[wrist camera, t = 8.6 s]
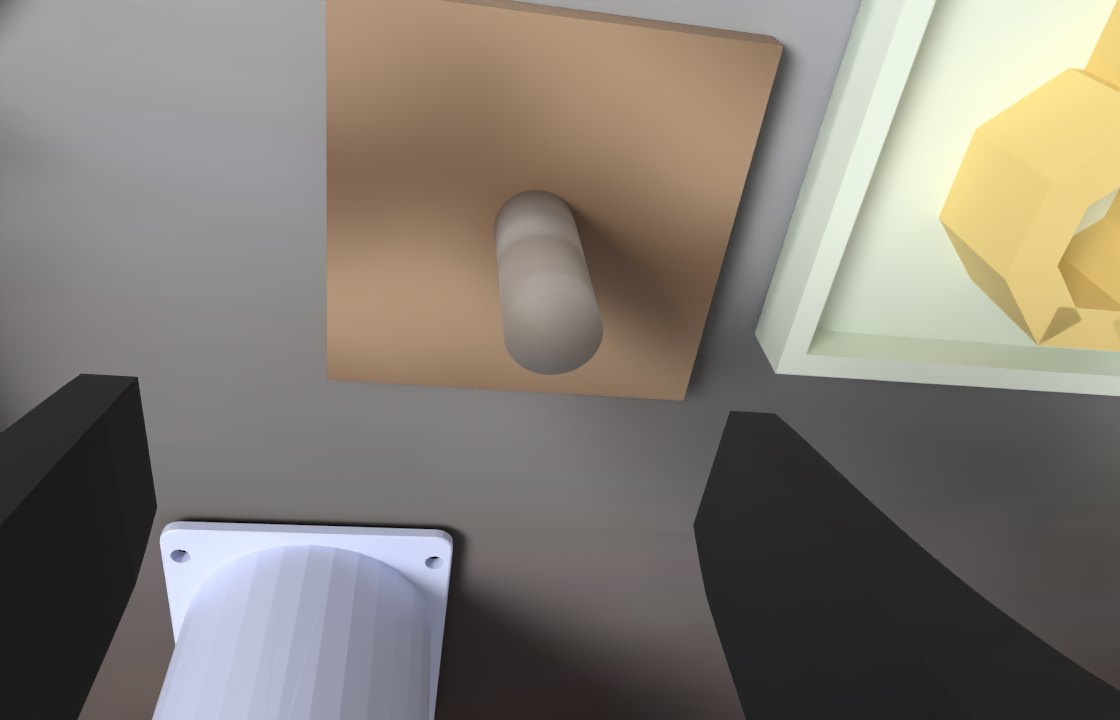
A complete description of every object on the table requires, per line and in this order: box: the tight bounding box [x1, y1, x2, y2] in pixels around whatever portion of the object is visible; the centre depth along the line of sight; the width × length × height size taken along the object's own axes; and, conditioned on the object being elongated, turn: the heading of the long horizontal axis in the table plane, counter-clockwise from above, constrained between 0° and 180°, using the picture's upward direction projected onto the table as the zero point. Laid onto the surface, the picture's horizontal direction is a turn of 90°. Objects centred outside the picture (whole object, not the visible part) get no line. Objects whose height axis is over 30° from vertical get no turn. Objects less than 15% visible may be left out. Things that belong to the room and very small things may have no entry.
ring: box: [938, 0, 1120, 352], centre depth 18 cm, size 5×7×3 cm
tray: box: [754, 0, 1120, 396], centre depth 19 cm, size 12×12×2 cm
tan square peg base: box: [326, 0, 783, 401], centre depth 18 cm, size 9×9×5 cm
